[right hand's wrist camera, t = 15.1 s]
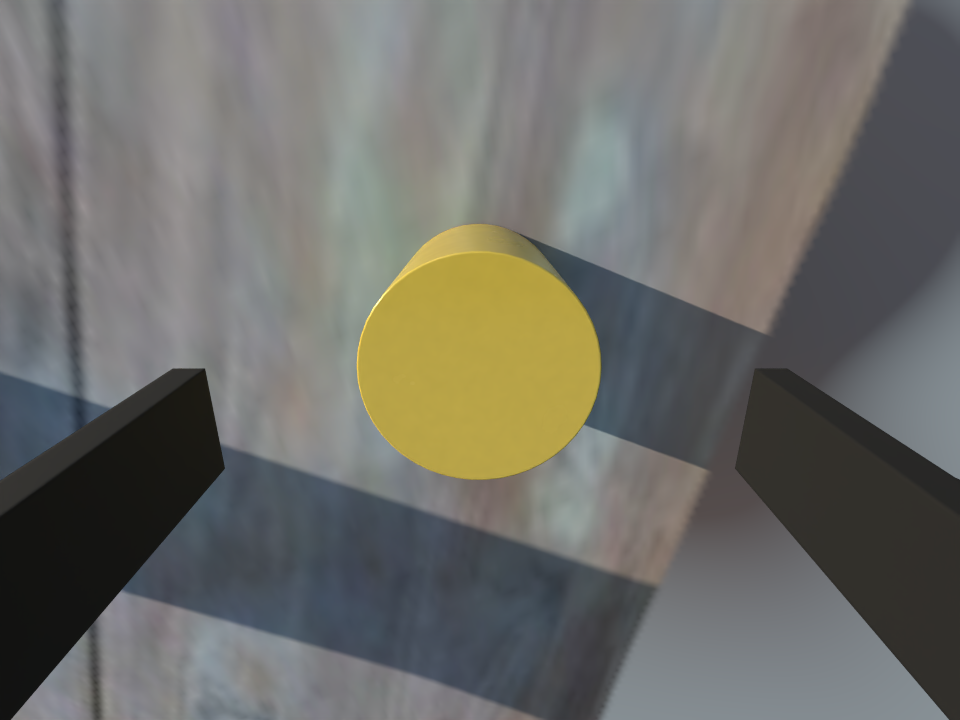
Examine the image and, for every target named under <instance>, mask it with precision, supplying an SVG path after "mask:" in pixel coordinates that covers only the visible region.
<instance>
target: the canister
mask: <svg viewBox="0 0 960 720" xmlns="http://www.w3.org/2000/svg"><path fill="white" fill-rule="evenodd" d="M601 368H602V367H601V351H600V346H599V340H598V336H597V333H596V330H595V328H594V325H593V322H592V320H591V318H590V316H589V314H588V312H587V310H586V309H585V307H584V306H583V304H582V303H581V302H580V300H579V299H578V297H577V296H576V295H575V293H574V292H573V291H572V290H571V288H570V287H569V286H568V285H567V283H566V282H565V281H564V280H563V279H562V277H561V276H560V275H559V274H558V272H557V271H556V270H555V269H554V267H553V266H552V265H551V264H550V262H549V261H548V260H547V259H546V257H545V256H544V255H543V254H542V253H541V252H540V251H539V249H538V248H537V247H536V246H535V245H533V244H532V243H531V242H530V241H529V240H527V239H526V238H524V237H523V236H521V235H519V234H518V233H516V232H513V231H511V230H509V229H506V228H503V227H499V226H495V225H488V224H470V225H463V226H459V227H455V228H452V229H449V230H447V231H445V232H442V233H440V234H439V235H437V236H435V237H434V238H432V239H431V240H430V241H428V242H427V243H426V244H425V245H423V246H422V248H421V249H420V250H419V251H418V252H417V253H416V254H415V255H414V256H413V258H412V259H411V260H410V261H409V263H408V264H407V265H406V266H405V268H404V269H403V270H402V271H401V273H400V274H399V275H398V276H397V278H396V279H395V280H394V281H393V283H392V284H391V285H390V286H389V288H388V289H387V290H386V291H385V293H384V294H383V295H382V297H381V298H380V299H379V301H378V302H377V303H376V305H375V306H374V308H373V309H372V311H371V313H370V315H369V317H368V319H367V321H366V323H365V326H364V329H363V331H362V334H361V338H360V343H359V347H358V355H357V375H358V384H359V388H360V393H361V397H362V399H363V402H364V405H365V407H366V410H367V412H368V414H369V416H370V417H371V419H372V421H373V423H374V424H375V426H376V427H377V429H378V430H379V431H380V433H381V434H382V435H383V437H384V438H385V439H386V440H387V441H388V442H389V443H390V444H391V445H392V446H393V447H394V448H395V449H396V450H398V451H399V452H400V453H401V454H402V455H404V456H405V457H407V458H408V459H410V460H411V461H413V462H414V463H416V464H418V465H420V466H422V467H424V468H426V469H428V470H431V471H434V472H436V473H439V474H442V475H446V476H450V477H455V478H461V479H470V480H488V479H497V478H503V477H508V476H512V475H516V474H519V473H522V472H525V471H528V470H530V469H532V468H534V467H536V466H538V465H540V464H542V463H544V462H545V461H547V460H548V459H550V458H552V457H553V456H555V455H556V454H557V453H558V452H559V451H561V450H562V449H563V448H564V447H566V445H567V444H568V443H569V442H570V441H571V440H572V439H573V438H574V437H575V436H576V435H577V433H578V432H579V430H580V429H581V428H582V426H583V425H584V424H585V422H586V420H587V418H588V416H589V414H590V413H591V411H592V408H593V405H594V403H595V400H596V398H597V394H598V390H599V385H600V379H601Z"/></svg>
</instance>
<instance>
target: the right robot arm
mask: <svg viewBox="0 0 960 720" xmlns="http://www.w3.org/2000/svg"><path fill="white" fill-rule="evenodd" d="M224 469H225V467H224V462H223V457H222V452H221V447H220V442H219V437H218V432H217V426H216V421H215V416H214V411H213V406H212V401H211V396H210V391H209V386H208V381H207V376H206V371H205V369H172V370H170V371H168V372H167V373H165V374H164V375H162V376H161V377H159V378H158V379H156V380H155V381H153V382H152V383H150V384H148V385H147V386H145V387H144V388H142V389H141V390H139V391H138V392H136V393H135V394H133V395H131V396H130V397H128V398H127V399H125V400H124V401H122V402H121V403H119V404H118V405H116V406H115V407H113V408H111V409H110V410H108V411H107V412H105V413H104V414H102V415H101V416H99V417H98V418H96V419H95V420H93V421H91V422H90V423H88V424H87V425H85V426H84V427H82V428H81V429H79V430H78V431H76V432H75V433H73V434H71V435H70V436H68V437H67V438H65V439H64V440H62V441H61V442H59V443H58V444H56V445H54V446H53V447H51V448H50V449H48V450H47V451H45V452H44V453H42V454H41V455H39V456H38V457H36V458H34V459H33V460H31V461H30V462H28V463H27V464H25V465H24V466H22V467H21V468H19V469H18V470H16V471H14V472H13V473H11V474H10V475H8V476H7V477H5V478H4V479H2V480H1V481H0V720H11V719H12V718H13V716H14V715H15V714H16V713H17V712H18V711H19V709H20V708H21V707H22V706H23V705H24V704H25V702H26V701H27V700H28V699H29V698H30V697H31V695H32V694H33V693H34V692H35V691H36V689H37V688H38V687H39V686H40V685H41V684H42V682H43V681H44V680H45V679H46V678H47V677H48V675H49V674H50V673H51V672H52V671H53V670H54V668H55V667H56V666H57V665H58V664H59V662H60V661H61V660H62V659H63V658H64V657H65V655H66V654H67V653H68V652H69V651H70V650H71V648H72V647H73V646H74V645H75V644H76V643H77V641H78V640H79V639H80V638H81V637H82V636H83V634H84V633H85V632H86V631H87V630H88V628H89V627H90V626H91V625H92V624H93V623H94V621H95V620H96V619H97V618H98V617H99V616H100V614H101V613H102V612H103V611H104V610H105V609H106V607H107V606H108V605H109V604H110V603H111V601H112V600H113V599H114V598H115V597H116V596H117V594H118V593H119V592H120V591H121V590H122V589H123V587H124V586H125V585H126V584H127V583H128V582H129V580H130V579H131V578H132V577H133V576H134V575H135V573H136V572H137V571H138V570H139V569H140V567H141V566H142V565H143V564H144V563H145V562H146V560H147V559H148V558H149V557H150V556H151V555H152V553H153V552H154V551H155V550H156V549H157V548H158V546H159V545H160V544H161V543H162V542H163V540H164V539H165V538H166V537H167V536H168V535H169V533H170V532H171V531H172V530H173V529H174V528H175V526H176V525H177V524H178V523H179V522H180V521H181V519H182V518H183V517H184V516H185V515H186V514H187V512H188V511H189V510H190V509H191V508H192V506H193V505H194V504H195V503H196V502H197V501H198V499H199V498H200V497H201V496H202V495H203V494H204V492H205V491H206V490H207V489H208V488H209V487H210V485H211V484H212V483H213V482H214V481H215V479H216V478H217V477H218V476H219V475H220V474H221V472H222V471H223V470H224ZM735 469H736V470H737V471H738V472H739V474H740V475H741V476H742V477H743V478H744V479H745V481H746V482H747V483H748V484H749V485H750V487H751V488H752V489H753V490H754V491H755V492H756V494H757V495H758V496H759V497H760V498H761V499H762V501H763V502H764V503H765V504H766V505H767V506H768V508H769V509H770V510H771V511H772V512H773V513H774V515H775V516H776V517H777V518H778V519H779V521H780V522H781V523H782V524H783V525H784V526H785V528H786V529H787V530H788V531H789V532H790V533H791V535H792V536H793V537H794V538H795V539H796V540H797V542H798V543H799V544H800V545H801V546H802V548H803V549H804V550H805V551H806V552H807V553H808V555H809V556H810V557H811V558H812V559H813V560H814V562H815V563H816V564H817V565H818V566H819V567H820V569H821V570H822V571H823V572H824V573H825V575H826V576H827V577H828V578H829V579H830V580H831V582H832V583H833V584H834V585H835V586H836V587H837V589H838V590H839V591H840V592H841V593H842V594H843V596H844V597H845V598H846V599H847V600H848V601H849V603H850V604H851V605H852V606H853V607H854V609H855V610H856V611H857V612H858V613H859V614H860V615H861V617H862V618H863V619H864V620H865V621H866V623H867V624H868V625H869V626H870V627H871V628H872V630H873V631H874V632H875V633H876V634H877V635H878V637H879V638H880V639H881V640H882V641H883V643H884V644H885V645H886V646H887V647H888V648H889V650H890V651H891V652H892V653H893V654H894V655H895V657H896V658H897V659H898V660H899V661H900V662H901V664H902V665H903V666H904V667H905V668H906V670H907V671H908V672H909V673H910V674H911V675H912V677H913V678H914V679H915V680H916V681H917V682H918V684H919V685H920V686H921V687H922V688H923V689H924V691H925V692H926V693H927V694H928V695H929V696H930V698H931V699H932V700H933V701H934V702H935V704H936V705H937V706H938V707H939V708H940V709H941V711H942V712H943V713H944V714H945V715H946V716H947V718H948V719H949V720H960V480H959V479H957V478H955V477H953V476H952V475H950V474H949V473H947V472H945V471H944V470H942V469H941V468H939V467H938V466H936V465H935V464H933V463H932V462H930V461H929V460H927V459H926V458H924V457H922V456H921V455H919V454H918V453H916V452H915V451H913V450H912V449H910V448H909V447H907V446H906V445H904V444H902V443H901V442H899V441H898V440H896V439H895V438H893V437H892V436H890V435H889V434H887V433H885V432H884V431H882V430H881V429H879V428H878V427H876V426H875V425H873V424H872V423H870V422H869V421H867V420H865V419H864V418H862V417H861V416H859V415H858V414H856V413H855V412H853V411H852V410H850V409H849V408H847V407H845V406H844V405H842V404H841V403H839V402H838V401H836V400H835V399H833V398H832V397H830V396H829V395H827V394H825V393H824V392H822V391H821V390H819V389H818V388H816V387H815V386H813V385H812V384H810V383H808V382H807V381H805V380H804V379H802V378H801V377H799V376H798V375H796V374H795V373H793V372H792V371H790V370H788V369H755V371H754V376H753V381H752V386H751V391H750V396H749V402H748V406H747V411H746V416H745V421H744V426H743V432H742V437H741V442H740V447H739V452H738V457H737V462H736V467H735Z"/></svg>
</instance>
